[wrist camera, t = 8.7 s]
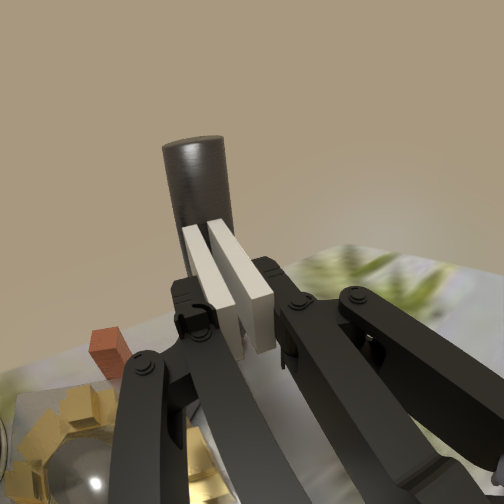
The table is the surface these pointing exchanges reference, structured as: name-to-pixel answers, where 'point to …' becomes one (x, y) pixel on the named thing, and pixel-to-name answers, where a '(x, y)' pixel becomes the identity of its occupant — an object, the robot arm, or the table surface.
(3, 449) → the coffee can
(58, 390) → the flange plate
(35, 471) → the tan ring with handle
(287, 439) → the table surface
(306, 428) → the table surface
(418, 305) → the table surface
